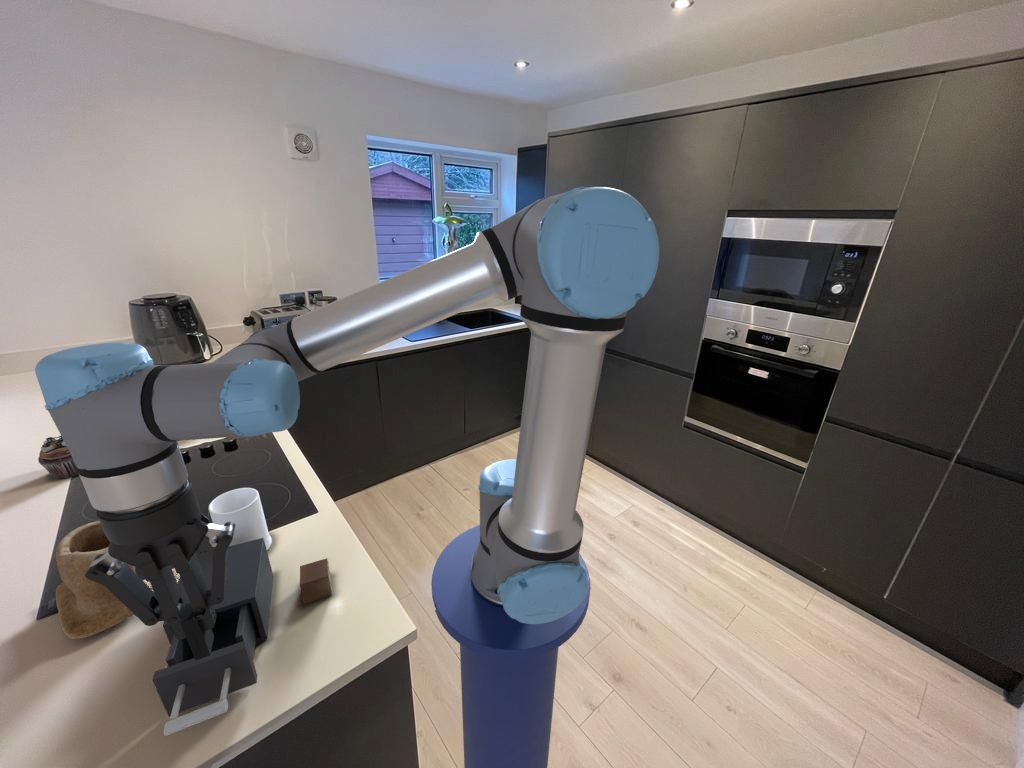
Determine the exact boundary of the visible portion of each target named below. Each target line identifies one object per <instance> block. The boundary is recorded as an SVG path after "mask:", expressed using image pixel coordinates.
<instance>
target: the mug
mask: <svg viewBox="0 0 1024 768" xmlns="http://www.w3.org/2000/svg"><path fill="white" fill-rule="evenodd" d="M208 512H209V515H210V519H211V522H212V524H216V525H222V526H223V525H224V524H225V523H227V522H234V523H235V530H234V535H233V539H232V542H231V543H230V545H229V546H233V545H237V544H241V543H245V542H249V541H252V540H256V539H260V538H264V542H265V545H266V549H267V551H268V550H270V549H271V548H270V547H271V546H272V543H273V539H272V537H271V535H270V533H269V529H268V525H267V521H266V517H265V514H264V508H263V505H262V501H261V498H260V493H259V491H258V490H257V489H255V488H253V487H240V488H235V489H232V490H229V491H226V492H223V493H221V494H219V495H218V496H216V497H215V498H214V499H212V500H211V502H209V504H208Z"/></svg>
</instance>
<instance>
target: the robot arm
mask: <svg viewBox="0 0 1024 768" xmlns="http://www.w3.org/2000/svg"><path fill="white" fill-rule="evenodd" d="M659 262H660V240H659V235H658V232H657V229H656V226H655V223H654V221H653V219H652V218H651V217H650V215H649V213H648V211H647V210H646V209H645V207H644V206H643V204H641V202H639V201H638V199H636V198H635V197H633V196H632V195H631V194H629V193H627V192H626V191H625V192H624V191H623V190H620V189H616V188H613V187H607V186H579V187H576V188H572V189H571V190H568V191H565V192H562V193H559V194H554V195H549V196H545V197H543V198H540V199H537V200H535V201H534V202H532V203H531V204H529V205H527V206H525V207H524V208H522V209H520V210H519V211H516V212H515V213H514V214H513V215H510V216H509V217H507V218H505V219H503V220H501V221H499V222H498V223H495V224H494V225H491V226H490V227H488V228H485V229H482V230H480V231H478V232H477V233H476V235H475V238H474V241H473V242H472V243H471V244H467V245H466V246H463V247H461V248H458V249H456V250H453V251H451V252H448V253H447V254H444V255H442V256H440V257H437V258H435V259H432V260H430V261H428V262H424V263H422V264H420V265H418V266H415V267H413V268H411V269H408V270H406V271H403V272H401V273H399V274H396V275H394V276H392V277H389V278H387V279H385V280H382V281H380V282H378V283H377V282H376V283H375V284H373V285H370V286H367V287H365V288H363V289H361V290H358V291H355V292H353V293H351V294H349V295H346V296H344V297H341V298H339V299H337V300H334V301H332V302H330V303H327V304H324V305H323V306H320V307H318V308H316V309H313V310H310V311H308V312H305V313H303V314H301V315H298V316H296V317H294V318H293V319H290V320H288V321H285V322H282V323H279V324H278V325H276V324H275V325H271V326H265V327H264V328H261V329H259V330H257V331H255V332H253V333H252V334H250V335H249V337H247V338H246V339H245V340H244V341H242V342H241V343H239V344H238V345H236V346H234V347H233V348H232V349H230V350H228V351H227V352H225V353H224V354H223V355H221V356H220V357H218V358H216V359H215V360H213V361H211V362H205V363H191V364H178V365H177V364H176V365H175V364H169V365H167V364H154V361H153V358H151V356H150V354H149V352H148V350H147V349H146V348H145V347H144V346H142V345H141V344H138V343H133V342H132V343H131V342H123V341H122V342H121V341H119V342H117V341H116V342H103V343H102V342H101V343H95V344H94V343H93V344H88V345H81V346H75V347H70V348H65V349H62V350H59V351H56V352H53V353H50V354H48V355H45V356H44V357H42V358H41V359H40V360H39V361H38V362H37V363H36V364H35V368H34V374H35V376H36V379H37V382H38V385H39V387H40V388H39V389H40V390H41V394H42V396H43V397H42V398H43V400H44V402H45V405H44V408H45V411H47V412H48V413H49V416H50V417H51V419H52V421H53V423H54V425H55V426H56V429H57V431H58V432H59V434H60V436H62V438H63V440H64V442H65V444H66V446H67V448H68V450H69V452H70V454H71V456H72V458H73V460H74V462H75V463H74V465H75V466H76V469H77V471H78V473H79V475H78V476H79V478H80V480H81V482H82V486H83V487H84V490H85V493H86V495H87V497H88V500H89V502H90V505H91V507H92V508H93V509H94V510H96V513H95V514H96V517H97V519H98V521H100V524H101V526H102V528H103V530H104V532H105V535H106V537H107V539H108V540H109V541H110V545H109V547H108V552H107V553H105V554H99V555H97V556H96V557H95V559H94V561H93V562H92V564H91V565H90V567H89V569H88V570H87V572H86V574H85V577H86V578H87V579H89V580H92V581H94V582H97V583H99V584H102V585H104V586H105V587H106V588H107V589H108V590H110V591H111V592H112V593H113V594H114V595H115V596H116V597H117V598H118V599H119V600H120V601H121V602H122V603H123V604H124V605H125V606H126V607H127V608H128V609H129V610H130V611H131V612H132V614H133V615H134V616H135V617H136V618H137V619H138V620H139V621H140V622H141V623H142V624H143V625H145V626H147V627H153V626H155V625H157V624H158V622H164V621H166V622H167V623H170V625H171V628H172V630H173V632H174V634H175V637H176V638H177V639H178V640H181V639H184V638H187V640H188V643H189V645H190V648H191V650H192V653H193V655H194V658H195V660H198V659H201V658H204V657H207V656H209V655H211V650H212V645H213V640H214V634H213V632H212V629H213V628H214V625H215V620H216V612H215V610H214V607H213V605H217V604H220V603H222V602H223V599H224V595H225V590H226V584H227V564H228V547H229V545H230V543H231V542H232V539H233V535H234V530H235V523H234V522H227V523H225V524H224V525H223V526H222V525H216V524H213V523H211V521H210V519H209V518H208V517H207V516H206V515H204V514H203V512H202V511H201V508H200V504H199V502H198V499H197V496H196V492H195V490H194V487H193V484H192V482H191V480H190V479H189V478H188V477H189V472H188V470H187V467H186V464H185V461H184V458H183V454H182V452H181V448H180V445H179V443H178V442H181V441H192V440H194V441H195V440H209V439H223V438H235V437H236V438H238V437H243V438H251V437H257V436H258V437H259V436H261V435H265V434H272V433H278V432H285V431H287V430H288V429H290V428H291V427H293V425H295V423H296V421H297V419H298V415H299V409H300V404H301V393H300V385H299V382H301V381H303V380H304V381H305V380H306V379H309V378H311V377H313V376H315V375H317V374H320V373H322V372H324V371H326V370H328V369H330V368H333V367H335V366H338V365H340V364H342V363H345V362H347V361H349V360H352V359H354V358H356V357H359V356H361V355H363V354H366V353H368V352H371V351H374V350H375V349H378V348H379V347H382V346H384V345H387V344H389V343H392V342H394V341H396V340H398V339H402V338H403V337H405V336H408V335H410V334H414V333H415V332H417V331H420V330H422V329H425V328H427V327H429V326H431V325H434V324H436V323H439V322H441V321H443V320H446V319H448V318H450V317H453V316H455V315H457V314H459V313H462V312H464V311H467V310H469V309H471V308H474V307H476V306H479V305H480V304H483V303H486V302H488V301H490V300H493V299H498V300H501V301H503V302H507V301H510V300H511V299H514V298H516V297H519V296H521V301H520V302H521V303H520V311H519V318H520V320H521V321H522V322H523V323H524V324H525V326H526V327H527V329H529V332H530V341H529V350H528V360H527V367H526V375H525V376H526V377H525V384H524V392H523V401H522V408H521V409H522V410H521V418H520V427H519V436H518V444H517V451H516V459H504V460H503V459H502V460H499V461H495V462H493V463H490V465H488V466H486V467H485V468H484V469H483V470H482V471H481V473H480V476H479V484H478V486H477V488H478V492H479V525H480V541H479V543H478V546H477V549H476V551H475V554H474V553H473V555H474V556H472V562H471V582H472V585H473V588H474V589H475V591H476V593H477V594H478V595H479V596H480V597H481V598H482V599H483V600H485V601H486V602H488V603H490V604H492V605H494V606H497V607H501V608H504V610H505V612H506V613H507V614H508V615H509V616H510V617H511V618H513V619H516V620H517V621H519V622H521V623H526V624H542V623H547V622H551V621H554V620H557V619H560V618H562V617H564V616H565V615H567V614H568V613H570V612H572V611H573V610H574V609H576V608H577V607H578V606H579V605H580V604H581V602H582V601H583V600H584V598H585V596H586V594H587V591H588V580H587V578H586V571H585V570H584V568H583V567H582V566H581V565H580V561H579V554H580V550H581V546H582V542H583V541H582V539H583V535H584V528H585V527H584V520H583V519H582V517H581V515H580V513H579V512H578V511H577V503H578V498H579V494H580V488H581V482H582V477H583V472H584V466H585V460H586V455H587V450H588V445H589V439H590V433H591V429H592V423H593V418H594V412H595V407H596V402H597V396H598V390H599V387H600V386H599V385H600V381H601V375H602V369H603V364H604V359H605V353H606V347H607V345H608V343H609V342H610V341H611V340H612V339H614V338H615V337H616V336H619V334H621V333H622V332H623V331H624V329H625V324H626V320H627V319H626V318H627V314H628V311H629V310H631V309H632V308H634V307H635V306H636V305H637V303H638V301H639V300H640V299H641V298H644V297H645V296H646V294H647V293H648V292H649V291H650V289H651V287H652V284H653V283H654V280H655V278H656V274H657V272H658V268H659ZM206 537H207V538H208V543H209V545H210V546H211V548H214V549H213V551H214V552H213V564H212V589H210V590H209V588H208V585H207V582H206V580H205V577H204V574H203V571H202V568H201V566H200V563H199V560H198V557H197V555H198V554H197V550H199V547H200V546H201V544H202V542H203V540H204V539H205V538H206ZM124 562H125V563H124ZM126 563H127V564H130V565H132V566H135V568H138V569H140V570H141V572H142V574H143V577H144V579H145V581H144V580H143V579H142V578H141V577H140V576H139V575H138V574H137V572H136V571H135V572H136V573H135V572H134V571H133V570H132V569H131V568H130V567H129V566H128V565H127V564H126ZM172 567H173V568H172ZM173 569H174V570H175V573H176V574H178V575H179V578H180V577H181V580H182V583H183V585H184V588H185V590H186V593H187V595H188V598H189V600H190V603H188V604H186V605H185V608H184V602H185V599H186V596H185V597H184V599H183V597H182V594H181V591H180V589H179V586H178V581H177V579H176V576H175V573H174V571H173ZM145 582H147V583H149V584H150V586H148V584H146V583H145Z"/></svg>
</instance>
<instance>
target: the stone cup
mask: <svg viewBox="0 0 1024 768" xmlns="http://www.w3.org/2000/svg"><path fill="white" fill-rule="evenodd" d="M109 545H110V541H109V540H108V539H107V537H106V535H105V532H104V530H103V528H102V526H101V524H100V521H99V520H96V521H93V522H88V523H86V524H83V525H81V526H79V527H77V528H75V529H73V530H71V531H70V532H69V533H67V534H66V535H65V536H64V537H63V538H62V539H60V541H59V543H58V544H57V545H56V548H55V560H56V566H57V570H58V573H59V577H60V579H61V581H62V583H60V584H59V585H57V587H56V589H55V603H56V607H57V608H56V609H57V610H58V618H59V623H60V626H61V628H62V632H63V633H64V635H65V636H66V637H68V638H69V639H71V640H80V639H81V640H82V639H85V638H88V637H91V636H94V635H97V634H99V633H101V632H104V631H106V630H108V629H110V628H112V627H114V626H116V625H118V624H119V623H121V622H123V621H124V620H127V619H128V618H129V617H131V615H132V614H133V613H132V612H131V611H130V610H129V609H128V608H127V607H126V606H125V605H124V604H123V603H122V602H121V601H120V600H119V599H118V598H117V597H116V596H115V595H114V594H113V593H112V592H111V591H110V590H108V589H107V588H106V587H105V586H104V585H102V584H99V583H97V582H94V581H92V580H89V579H87V578H86V577H85V574H86V572H87V570H88V569H89V567H90V565H91V564H92V562H93V561H94V559H95V557H96V556H97V555H99V554H105V553H107V552H108V547H109ZM124 563H125V562H124ZM126 564H127V563H126ZM127 565H128V566H129V567H130V568H131V569H132V570H133V571H134V572H135V573H136V574H137V572H136V567H135V566H132V565H130V564H127Z"/></svg>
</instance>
